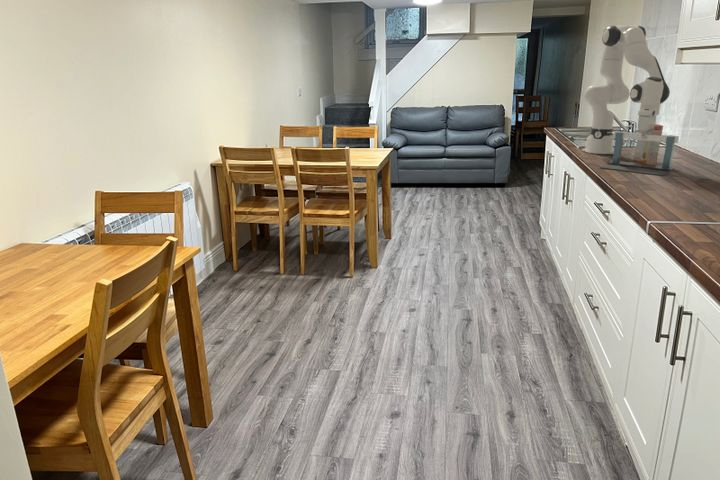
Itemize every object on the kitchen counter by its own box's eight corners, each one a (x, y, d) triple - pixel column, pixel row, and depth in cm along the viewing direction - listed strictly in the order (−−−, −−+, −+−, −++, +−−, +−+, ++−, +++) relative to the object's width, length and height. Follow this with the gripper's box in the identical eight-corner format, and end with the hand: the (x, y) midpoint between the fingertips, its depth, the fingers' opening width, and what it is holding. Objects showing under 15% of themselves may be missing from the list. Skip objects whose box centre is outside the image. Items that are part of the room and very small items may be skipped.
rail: (614, 136, 289) (615, 131, 288) (678, 142, 270) (679, 136, 270) (612, 137, 286) (613, 131, 285) (676, 143, 268) (677, 137, 267)
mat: (605, 165, 287) (605, 164, 287) (668, 173, 269) (669, 171, 269) (599, 168, 280) (599, 167, 279) (664, 176, 261) (664, 175, 261)
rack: (611, 162, 295) (616, 130, 289) (673, 169, 277) (680, 135, 271) (607, 164, 289) (612, 132, 284) (670, 172, 271) (676, 137, 265)
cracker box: (656, 165, 287) (664, 125, 280) (645, 165, 287) (652, 125, 280) (644, 160, 300) (650, 122, 294) (633, 160, 300) (639, 122, 294)
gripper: (647, 109, 283) (643, 136, 288) (637, 112, 268) (632, 140, 273) (661, 110, 279) (656, 137, 284) (651, 112, 265) (646, 141, 269)
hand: (644, 138), depth 278 cm, fingers closed on rail, 3 cm apart
